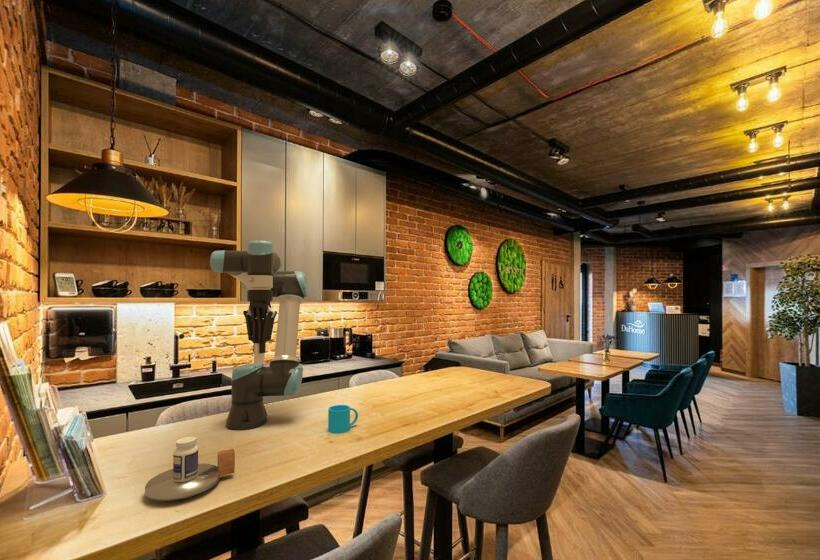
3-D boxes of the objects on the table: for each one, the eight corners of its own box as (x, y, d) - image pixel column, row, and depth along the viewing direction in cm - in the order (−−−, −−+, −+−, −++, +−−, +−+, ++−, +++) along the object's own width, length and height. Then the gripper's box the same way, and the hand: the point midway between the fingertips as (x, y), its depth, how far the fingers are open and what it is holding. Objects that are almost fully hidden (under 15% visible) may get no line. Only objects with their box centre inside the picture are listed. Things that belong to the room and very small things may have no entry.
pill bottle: (199, 470, 103) (199, 434, 103) (196, 480, 97) (197, 441, 98) (174, 475, 100) (175, 437, 101) (170, 484, 95) (171, 445, 95)
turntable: (145, 479, 101) (145, 457, 101) (228, 460, 112) (228, 440, 113) (144, 509, 87) (145, 483, 87) (239, 483, 98) (240, 460, 99)
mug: (333, 435, 136) (333, 412, 136) (324, 428, 142) (324, 407, 143) (362, 428, 143) (362, 406, 143) (353, 422, 149) (353, 402, 150)
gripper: (236, 289, 119) (235, 363, 118) (265, 288, 113) (264, 367, 112) (255, 289, 126) (254, 360, 125) (283, 289, 120) (283, 363, 119)
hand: (259, 363), depth 118 cm, fingers closed
